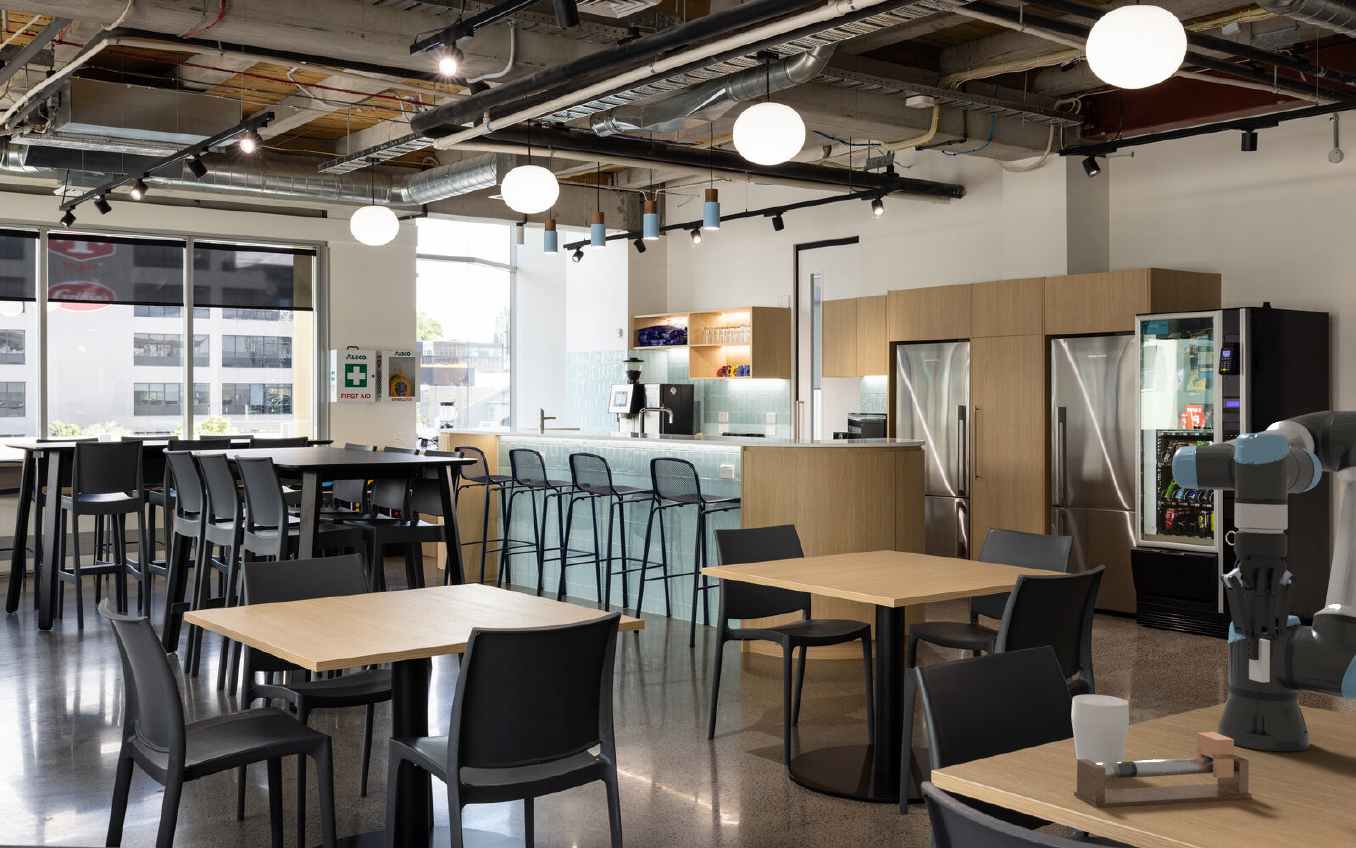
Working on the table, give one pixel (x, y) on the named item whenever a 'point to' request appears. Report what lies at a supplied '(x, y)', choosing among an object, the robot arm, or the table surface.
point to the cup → (1100, 727)
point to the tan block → (1217, 752)
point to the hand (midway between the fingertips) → (1259, 680)
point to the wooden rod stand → (1096, 795)
